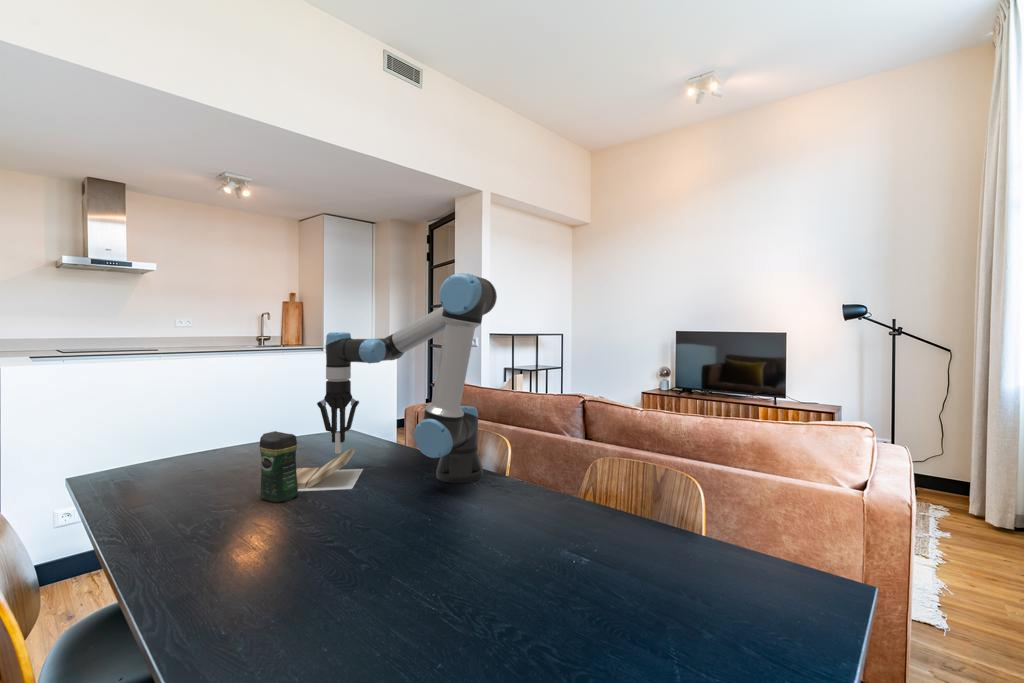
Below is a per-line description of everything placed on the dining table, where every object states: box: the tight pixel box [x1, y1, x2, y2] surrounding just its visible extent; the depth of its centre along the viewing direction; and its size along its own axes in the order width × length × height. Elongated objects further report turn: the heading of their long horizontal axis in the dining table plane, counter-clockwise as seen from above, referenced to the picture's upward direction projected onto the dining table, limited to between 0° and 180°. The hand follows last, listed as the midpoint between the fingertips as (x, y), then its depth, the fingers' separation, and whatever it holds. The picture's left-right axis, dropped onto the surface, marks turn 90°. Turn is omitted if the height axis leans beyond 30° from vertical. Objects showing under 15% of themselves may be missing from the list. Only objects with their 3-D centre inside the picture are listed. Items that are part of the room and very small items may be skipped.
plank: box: [307, 447, 356, 487], centre depth 147 cm, size 12×16×2 cm
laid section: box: [296, 467, 320, 489], centre depth 145 cm, size 11×16×2 cm
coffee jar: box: [259, 430, 299, 503], centre depth 131 cm, size 10×8×19 cm
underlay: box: [298, 468, 364, 492], centre depth 147 cm, size 25×20×1 cm
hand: (338, 452), depth 151 cm, fingers closed
